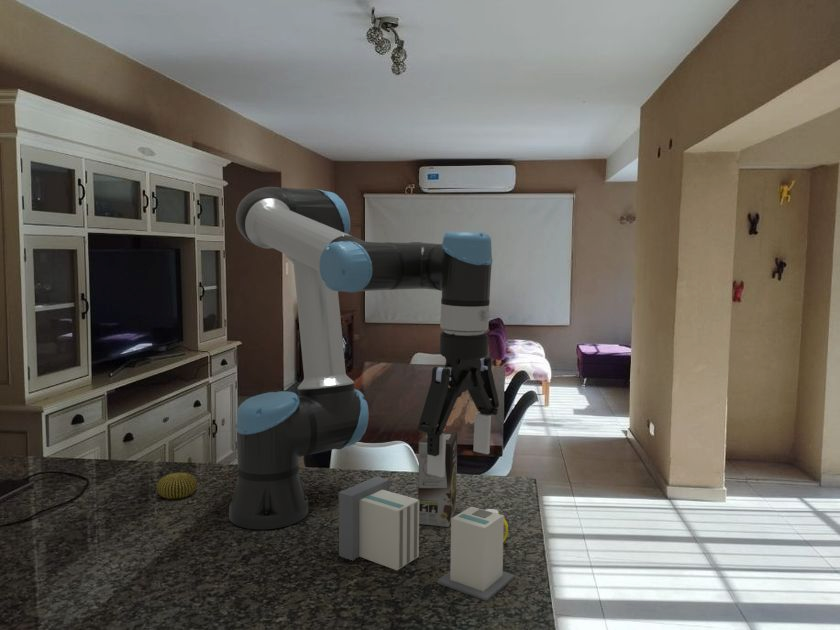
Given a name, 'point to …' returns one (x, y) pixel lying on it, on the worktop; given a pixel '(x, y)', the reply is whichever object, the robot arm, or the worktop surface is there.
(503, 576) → the mat
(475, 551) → the stub
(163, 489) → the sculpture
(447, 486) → the coffee box
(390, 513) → the pad
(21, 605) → the worktop surface
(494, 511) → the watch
